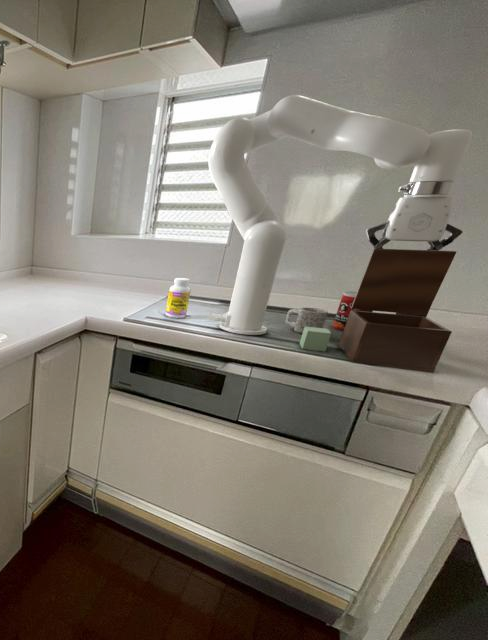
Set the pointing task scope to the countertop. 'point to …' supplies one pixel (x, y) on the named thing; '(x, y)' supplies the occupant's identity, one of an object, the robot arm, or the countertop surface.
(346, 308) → the canned food
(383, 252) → the lid
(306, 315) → the mug
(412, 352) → the chest
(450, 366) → the countertop surface
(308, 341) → the block
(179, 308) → the supplement bottle
